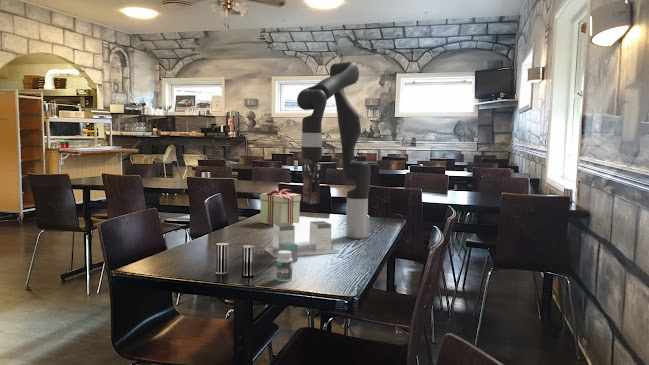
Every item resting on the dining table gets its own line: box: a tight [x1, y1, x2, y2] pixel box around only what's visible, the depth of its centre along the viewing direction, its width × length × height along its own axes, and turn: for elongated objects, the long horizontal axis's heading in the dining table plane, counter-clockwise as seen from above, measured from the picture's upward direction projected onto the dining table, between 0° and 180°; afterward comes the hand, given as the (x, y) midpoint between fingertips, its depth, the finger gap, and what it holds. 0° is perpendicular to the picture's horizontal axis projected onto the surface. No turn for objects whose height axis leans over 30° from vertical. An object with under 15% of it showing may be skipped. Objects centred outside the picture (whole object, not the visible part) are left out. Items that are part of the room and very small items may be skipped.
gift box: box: [259, 188, 302, 226], centre depth 243 cm, size 17×18×17 cm
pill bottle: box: [275, 250, 293, 283], centre depth 143 cm, size 5×5×8 cm
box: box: [302, 170, 321, 205], centre depth 175 cm, size 6×4×12 cm
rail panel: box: [265, 220, 340, 259], centre depth 179 cm, size 25×12×11 cm, turn 112°
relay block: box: [279, 242, 298, 263], centre depth 165 cm, size 5×4×6 cm
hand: (311, 191), depth 175 cm, fingers closed on box, 6 cm apart
